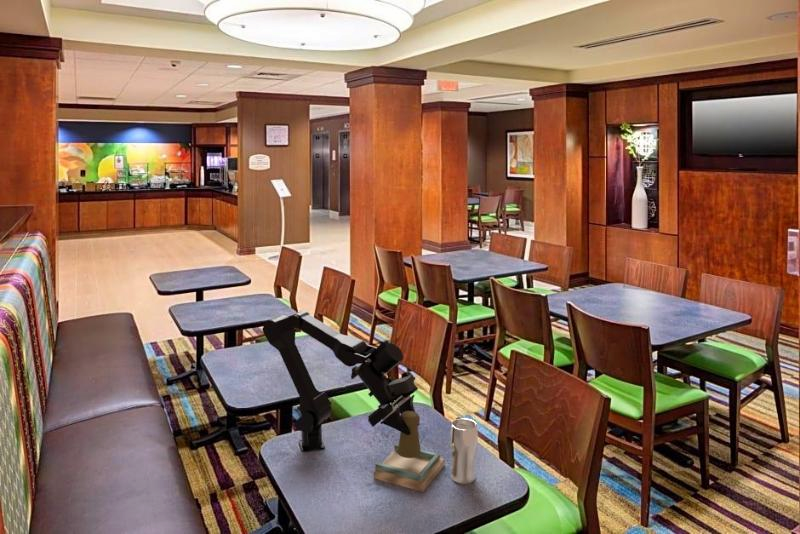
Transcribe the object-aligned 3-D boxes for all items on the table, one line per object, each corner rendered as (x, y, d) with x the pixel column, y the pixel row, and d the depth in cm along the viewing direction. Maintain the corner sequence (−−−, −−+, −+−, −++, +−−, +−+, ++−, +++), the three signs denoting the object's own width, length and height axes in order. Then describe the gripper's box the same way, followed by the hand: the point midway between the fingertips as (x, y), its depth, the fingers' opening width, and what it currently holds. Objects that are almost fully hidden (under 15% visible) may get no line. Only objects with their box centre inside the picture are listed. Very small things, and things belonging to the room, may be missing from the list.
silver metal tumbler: (461, 467, 159) (462, 415, 156) (482, 477, 154) (483, 424, 151) (443, 477, 154) (444, 424, 151) (464, 488, 149) (466, 433, 146)
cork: (424, 455, 154) (425, 416, 151) (402, 459, 152) (402, 419, 149) (415, 444, 159) (416, 406, 157) (394, 448, 157) (394, 409, 155)
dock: (373, 478, 153) (373, 465, 153) (397, 453, 166) (397, 441, 165) (423, 492, 147) (423, 479, 147) (444, 465, 160) (444, 453, 159)
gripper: (379, 377, 144) (419, 429, 142) (412, 353, 161) (448, 400, 158) (351, 401, 149) (390, 452, 147) (386, 376, 166) (421, 421, 163)
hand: (414, 429), depth 154 cm, fingers closed on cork, 5 cm apart
